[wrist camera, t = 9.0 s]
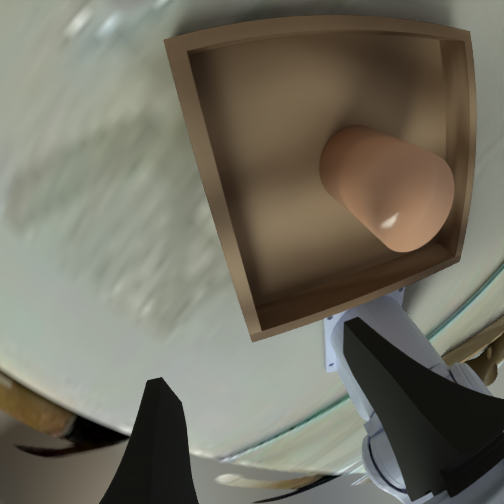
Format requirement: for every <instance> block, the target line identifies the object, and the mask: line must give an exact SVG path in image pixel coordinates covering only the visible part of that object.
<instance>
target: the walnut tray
mask: <svg viewBox="0 0 504 504" xmlns="http://www.w3.org/2000/svg"><path fill="white" fill-rule="evenodd" d="M164 44H165V48H166V52H167V55H168V59H169V63H170V67H171V71H172V75H173V79H174V82H175V86H176V90H177V94H178V97H179V101H180V105H181V108H182V112H183V116H184V119H185V123H186V127H187V130H188V134H189V137H190V141H191V144H192V148H193V152H194V155H195V159H196V162H197V166H198V169H199V172H200V176H201V179H202V183H203V186H204V190H205V193H206V196H207V200H208V203H209V207H210V210H211V213H212V217H213V220H214V223H215V227H216V230H217V233H218V236H219V240H220V243H221V246H222V249H223V253H224V256H225V259H226V262H227V266H228V269H229V272H230V275H231V278H232V281H233V285H234V288H235V291H236V294H237V297H238V300H239V303H240V306H241V310H242V313H243V316H244V319H245V322H246V325H247V328H248V331H249V334H250V337H251V340H252V342H255V341H259V340H262V339H265V338H268V337H271V336H274V335H278V334H281V333H284V332H287V331H290V330H293V329H296V328H299V327H302V326H304V325H307V324H310V323H313V322H316V321H319V320H322V319H324V318H327V317H330V316H333V315H335V314H338V313H341V312H343V311H346V310H349V309H351V308H354V307H356V306H359V305H361V304H364V303H367V302H369V301H372V300H374V299H377V298H379V297H381V296H384V295H386V294H389V293H391V292H393V291H396V290H398V289H401V288H403V287H405V286H407V285H410V284H412V283H414V282H417V281H419V280H421V279H423V278H426V277H428V276H430V275H432V274H434V273H436V272H439V271H441V270H443V269H445V268H447V267H449V266H451V265H453V264H455V263H458V262H460V258H461V253H462V249H463V244H464V239H465V234H466V228H467V222H468V216H469V210H470V203H471V195H472V187H473V178H474V167H475V152H476V84H475V70H474V60H473V51H472V43H471V36H470V31H466V30H462V29H458V28H453V27H449V26H444V25H439V24H433V23H428V22H421V21H415V20H407V19H399V18H390V17H378V16H362V15H308V16H291V17H279V18H269V19H261V20H253V21H246V22H240V23H234V24H228V25H223V26H218V27H213V28H208V29H203V30H199V31H195V32H191V33H187V34H183V35H179V36H175V37H171V38H168V39H164ZM353 125H362V126H366V127H369V128H372V129H375V130H378V131H380V132H383V133H386V134H388V135H391V136H393V137H396V138H398V139H401V140H403V141H406V142H408V143H410V144H413V145H415V146H417V147H420V148H422V149H424V150H427V151H429V152H431V153H433V154H435V155H437V156H439V157H441V158H442V159H444V160H445V161H446V163H447V164H448V165H449V167H450V169H451V171H452V174H453V178H454V198H453V203H452V207H451V210H450V212H449V215H448V217H447V219H446V221H445V223H444V224H443V226H442V227H441V229H440V230H439V231H438V233H437V234H436V235H435V236H434V237H433V238H432V239H431V240H430V241H429V242H427V243H426V244H425V245H423V246H421V247H420V248H418V249H415V250H413V251H409V252H397V251H394V250H391V249H390V248H388V247H387V246H386V245H385V244H384V243H383V242H382V241H381V240H380V239H379V238H377V237H376V236H375V235H374V234H373V233H372V232H371V231H370V230H369V229H368V228H367V227H366V226H365V225H363V224H362V223H361V222H360V221H359V220H358V219H357V218H356V217H355V216H353V215H352V214H351V213H350V212H349V211H348V210H347V209H346V208H344V207H343V206H342V205H341V204H340V203H339V202H338V201H336V200H335V199H334V198H333V197H332V196H331V195H329V194H328V192H327V191H326V190H325V188H324V187H323V184H322V182H321V179H320V173H319V165H320V158H321V155H322V152H323V150H324V148H325V146H326V144H327V143H328V141H329V140H330V139H331V138H332V137H333V136H334V135H335V134H336V133H337V132H339V131H340V130H342V129H344V128H346V127H349V126H353Z"/></svg>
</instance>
